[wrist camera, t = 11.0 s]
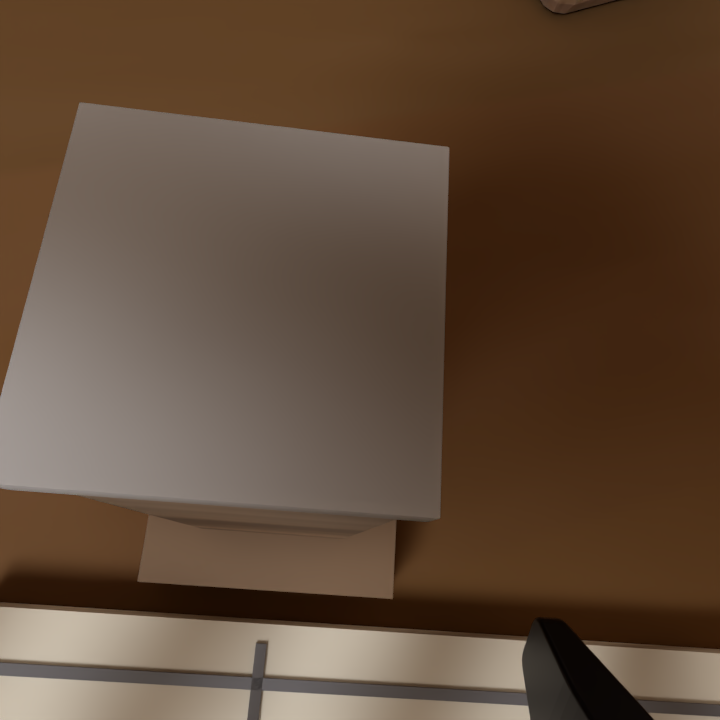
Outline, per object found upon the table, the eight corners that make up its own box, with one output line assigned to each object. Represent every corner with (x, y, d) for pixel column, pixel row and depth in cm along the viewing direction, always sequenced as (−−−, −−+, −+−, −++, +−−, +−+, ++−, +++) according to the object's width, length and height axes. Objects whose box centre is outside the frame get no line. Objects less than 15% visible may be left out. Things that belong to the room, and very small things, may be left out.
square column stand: (383, 594, 18) (592, 694, 5) (154, 578, 18) (-250, 645, 5) (394, 379, 21) (561, 67, 7) (190, 360, 20) (-17, -9, 7)
